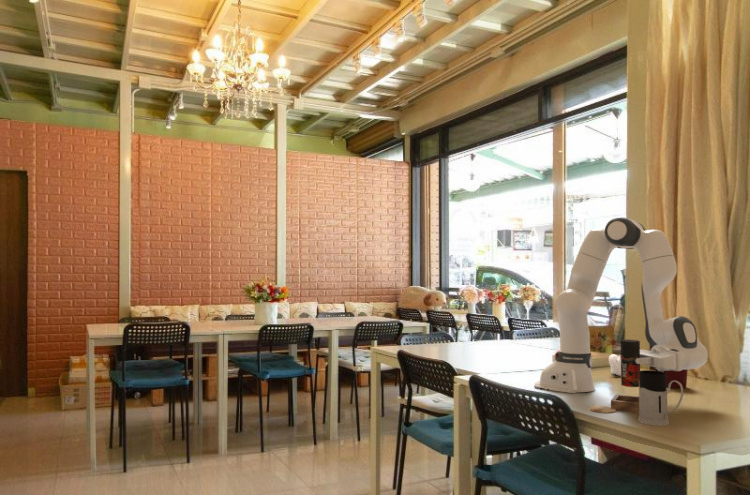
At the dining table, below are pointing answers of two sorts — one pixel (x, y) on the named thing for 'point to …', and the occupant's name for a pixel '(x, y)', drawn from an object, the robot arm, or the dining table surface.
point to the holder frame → (625, 403)
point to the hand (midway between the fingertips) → (628, 359)
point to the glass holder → (654, 397)
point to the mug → (676, 378)
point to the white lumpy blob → (615, 364)
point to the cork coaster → (602, 409)
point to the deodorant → (630, 363)
